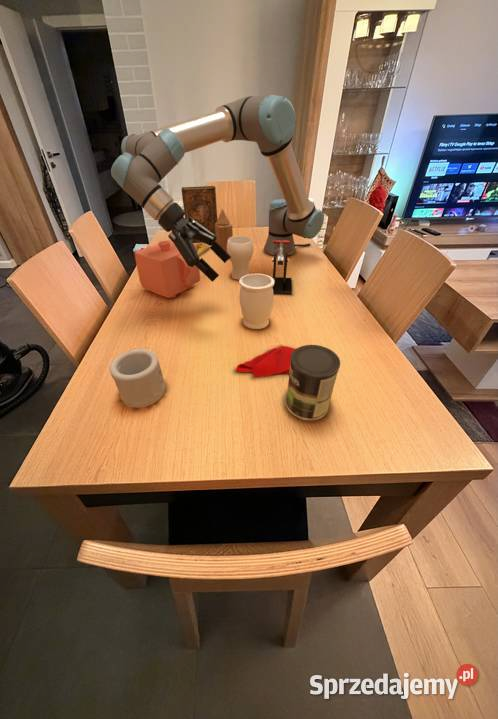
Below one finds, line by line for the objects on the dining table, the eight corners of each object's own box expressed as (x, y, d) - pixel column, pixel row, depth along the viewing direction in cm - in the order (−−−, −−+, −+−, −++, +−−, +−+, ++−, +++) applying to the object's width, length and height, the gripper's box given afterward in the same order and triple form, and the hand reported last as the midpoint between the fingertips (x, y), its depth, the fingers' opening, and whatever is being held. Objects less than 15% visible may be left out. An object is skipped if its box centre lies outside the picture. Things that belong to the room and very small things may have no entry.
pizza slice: (210, 247, 152) (209, 241, 150) (205, 263, 136) (204, 257, 134) (179, 247, 152) (178, 241, 150) (171, 263, 136) (170, 257, 134)
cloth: (328, 350, 88) (330, 344, 86) (334, 383, 77) (335, 376, 76) (240, 344, 90) (240, 338, 88) (234, 376, 79) (234, 369, 78)
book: (218, 237, 163) (214, 185, 147) (219, 241, 159) (216, 188, 143) (187, 240, 161) (180, 187, 144) (188, 243, 156) (181, 189, 140)
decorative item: (216, 251, 148) (213, 207, 135) (228, 249, 150) (226, 205, 137) (221, 255, 143) (218, 210, 130) (233, 253, 146) (232, 208, 133)
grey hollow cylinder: (167, 403, 72) (159, 372, 66) (120, 413, 70) (107, 382, 63) (163, 367, 82) (155, 338, 76) (122, 375, 80) (110, 345, 73)
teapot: (181, 267, 133) (174, 225, 121) (220, 280, 123) (217, 236, 111) (135, 289, 117) (123, 243, 106) (176, 305, 107) (167, 257, 96)
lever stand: (266, 280, 123) (267, 248, 115) (291, 280, 123) (294, 249, 114) (265, 293, 114) (266, 261, 106) (291, 294, 113) (294, 262, 105)
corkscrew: (273, 242, 117) (273, 238, 114) (289, 243, 116) (289, 238, 114) (272, 264, 112) (272, 260, 110) (288, 265, 112) (288, 260, 109)
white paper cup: (275, 317, 101) (278, 275, 92) (267, 334, 94) (269, 290, 84) (246, 312, 104) (245, 271, 94) (235, 328, 97) (233, 285, 87)
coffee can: (290, 422, 68) (296, 377, 58) (282, 389, 75) (286, 345, 66) (334, 419, 68) (347, 374, 59) (322, 387, 76) (332, 343, 67)
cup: (254, 271, 130) (254, 235, 120) (252, 282, 122) (252, 244, 112) (230, 270, 131) (228, 234, 121) (226, 281, 123) (224, 243, 113)
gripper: (175, 209, 93) (224, 260, 100) (137, 235, 74) (201, 295, 82) (189, 191, 89) (239, 245, 96) (152, 213, 70) (218, 279, 78)
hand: (222, 268), depth 89 cm, fingers open, 13 cm apart
